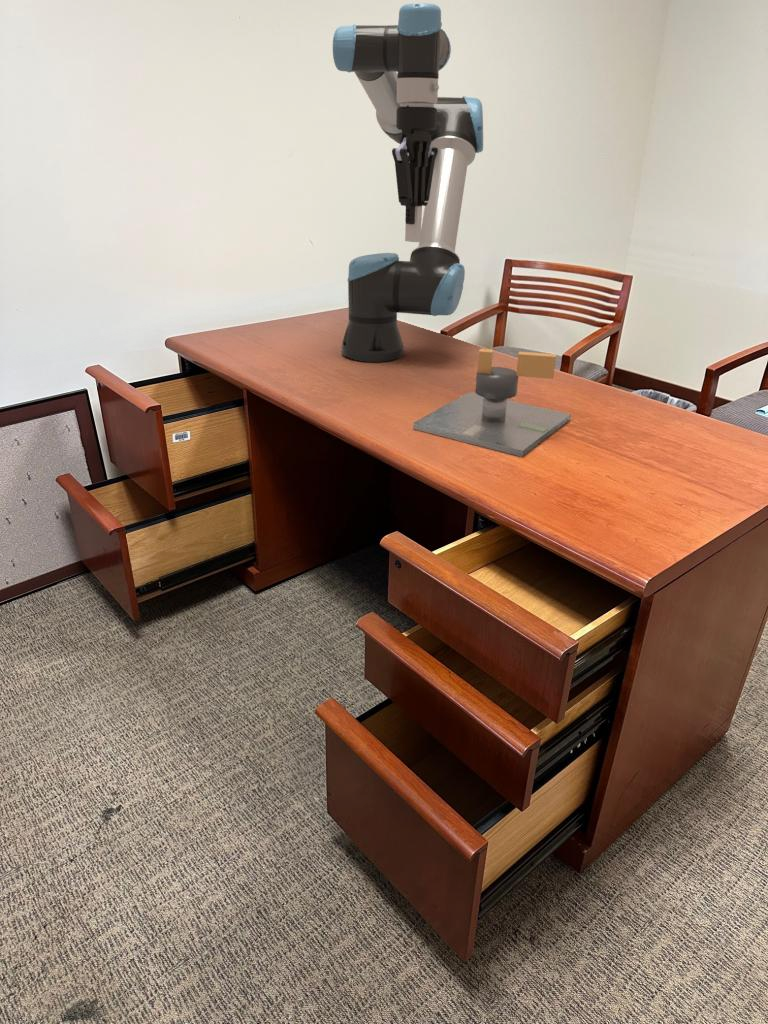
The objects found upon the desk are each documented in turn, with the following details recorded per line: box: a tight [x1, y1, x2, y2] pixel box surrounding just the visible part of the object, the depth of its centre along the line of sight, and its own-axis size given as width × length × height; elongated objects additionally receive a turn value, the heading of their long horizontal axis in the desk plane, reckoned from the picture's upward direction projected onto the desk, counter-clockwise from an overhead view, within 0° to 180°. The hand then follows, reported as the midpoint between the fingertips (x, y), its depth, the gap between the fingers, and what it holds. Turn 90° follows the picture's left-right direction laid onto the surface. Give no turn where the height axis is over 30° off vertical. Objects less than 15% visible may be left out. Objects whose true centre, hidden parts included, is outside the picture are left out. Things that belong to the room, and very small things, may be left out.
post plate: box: [412, 391, 572, 458], centre depth 138 cm, size 22×22×6 cm
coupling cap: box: [474, 348, 557, 400], centre depth 134 cm, size 14×8×8 cm, turn 78°
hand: (412, 241), depth 146 cm, fingers closed
